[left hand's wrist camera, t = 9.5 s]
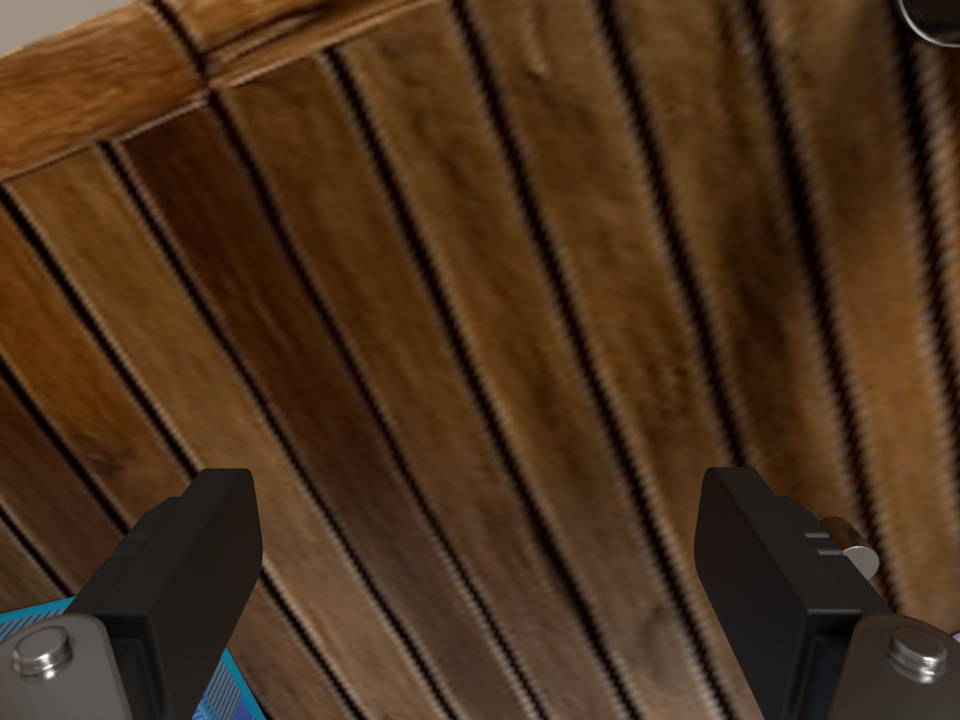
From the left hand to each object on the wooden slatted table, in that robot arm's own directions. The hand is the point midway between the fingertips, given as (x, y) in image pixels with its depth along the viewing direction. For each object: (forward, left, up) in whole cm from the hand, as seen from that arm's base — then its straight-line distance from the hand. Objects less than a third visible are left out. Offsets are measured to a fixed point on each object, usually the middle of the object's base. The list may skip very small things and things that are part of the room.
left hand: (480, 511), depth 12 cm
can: (-21, +35, -37) cm, 55 cm away
